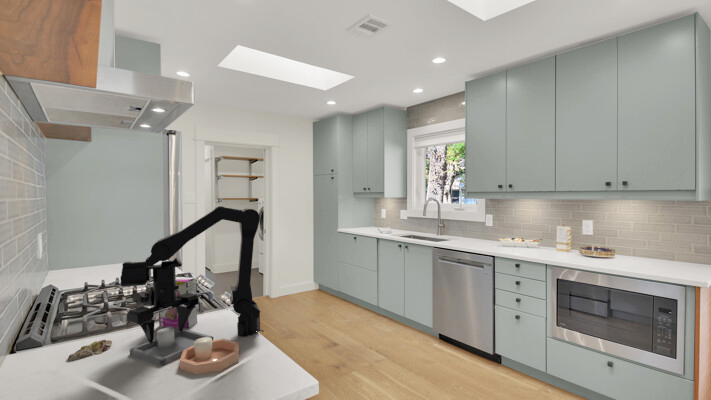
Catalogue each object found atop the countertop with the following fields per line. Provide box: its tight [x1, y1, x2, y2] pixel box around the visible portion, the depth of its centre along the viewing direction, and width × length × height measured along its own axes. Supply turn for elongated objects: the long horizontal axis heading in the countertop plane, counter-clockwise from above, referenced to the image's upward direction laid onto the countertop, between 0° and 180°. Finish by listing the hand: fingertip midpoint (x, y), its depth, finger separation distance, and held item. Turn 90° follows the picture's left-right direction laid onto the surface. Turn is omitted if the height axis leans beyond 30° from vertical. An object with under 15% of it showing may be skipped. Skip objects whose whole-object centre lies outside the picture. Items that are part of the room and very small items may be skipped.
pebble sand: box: [194, 337, 213, 361], centre depth 95 cm, size 4×4×4 cm
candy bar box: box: [158, 276, 198, 329], centre depth 118 cm, size 11×5×16 cm, turn 79°
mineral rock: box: [67, 339, 113, 361], centre depth 99 cm, size 11×4×8 cm
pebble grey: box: [156, 327, 175, 349], centre depth 103 cm, size 4×4×4 cm
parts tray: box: [129, 328, 214, 366], centre depth 101 cm, size 16×14×2 cm
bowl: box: [179, 338, 240, 375], centre depth 94 cm, size 14×14×3 cm
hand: (166, 336), depth 103 cm, fingers open, 9 cm apart
